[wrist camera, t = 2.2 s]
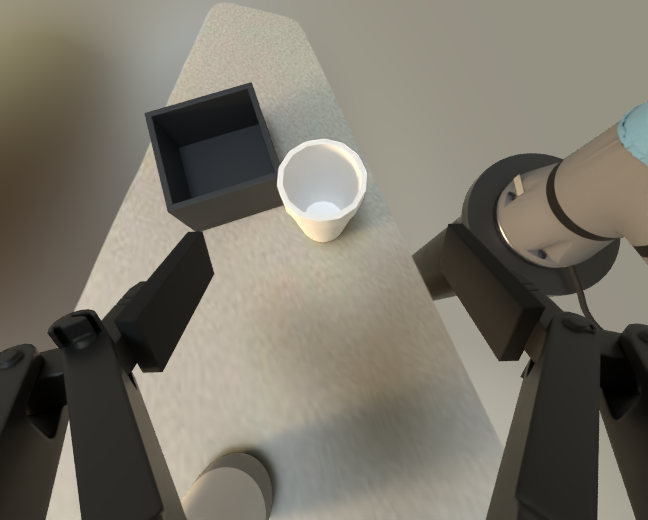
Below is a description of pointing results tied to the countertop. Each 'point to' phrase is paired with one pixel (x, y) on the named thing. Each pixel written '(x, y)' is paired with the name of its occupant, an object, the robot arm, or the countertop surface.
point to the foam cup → (322, 187)
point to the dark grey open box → (215, 158)
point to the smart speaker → (230, 491)
